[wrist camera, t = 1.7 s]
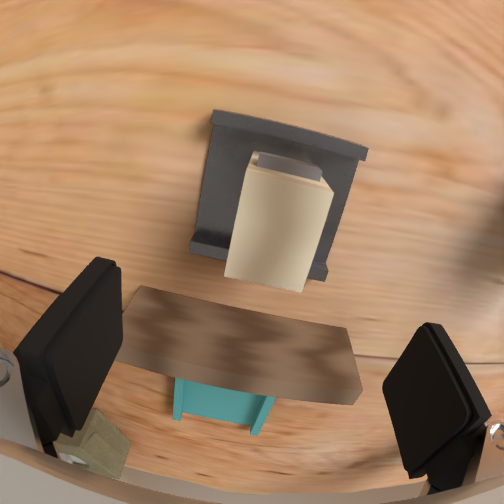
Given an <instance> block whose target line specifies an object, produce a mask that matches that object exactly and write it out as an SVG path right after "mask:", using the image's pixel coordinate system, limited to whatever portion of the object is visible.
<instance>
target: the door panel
mask: <svg viewBox="0 0 504 504" xmlns="http://www.w3.org/2000/svg"><path fill="white" fill-rule="evenodd" d="M122 321H123V342H122V345H121V348H120V350H119V352H118V354H117V356H116V358H115V360H116V361H119V362H122V363H125V364H128V365H132V366H135V367H138V368H142V369H145V370H149V371H152V372H156V373H160V374H164V375H167V376H171V377H175V378H179V379H183V380H187V381H192V382H196V383H200V384H205V385H210V386H214V387H219V388H224V389H229V390H235V391H240V392H246V393H251V394H257V395H264V396H270V397H277V398H284V399H292V400H300V401H309V402H318V403H329V404H341V405H353V404H354V403H355V401H356V400H357V399H358V397H359V396H360V394H361V393H362V391H363V388H362V384H361V380H360V377H359V373H358V369H357V365H356V361H355V358H354V354H353V350H352V347H351V343H350V340H349V336H348V333H347V329H346V328H341V327H335V326H329V325H323V324H318V323H312V322H307V321H301V320H296V319H290V318H285V317H280V316H275V315H269V314H264V313H259V312H255V311H250V310H245V309H240V308H235V307H231V306H226V305H221V304H217V303H212V302H208V301H203V300H199V299H195V298H190V297H186V296H182V295H178V294H174V293H169V292H165V291H161V290H157V289H153V288H149V287H145V286H140V287H139V289H138V291H137V292H136V294H135V295H134V297H133V298H132V300H131V302H130V303H129V305H128V306H127V308H126V309H125V311H124V313H123V314H122Z"/></svg>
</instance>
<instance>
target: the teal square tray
mask: <svg viewBox="0 0 504 504" xmlns="http://www.w3.org/2000/svg"><path fill="white" fill-rule="evenodd" d="M275 399H276V397H270V396H264V395H257V394H251V393H246V392H240V391H235V390H229V389H224V388H219V387H214V386H210V385H205V384H200V383H196V382H192V381H187V380H183V379H179V378H175V389H174V404H173V419H174V420H178V421H180V420H181V416H182V412H184V413H189V414H193V415H198V416H202V417H207V418H212V419H217V420H222V421H227V422H233V423H239V424H245V425H251V428H250V435H257V436H258V434H259V432H260V430H261V428H262V426H263V424H264V422H265V420H266V418H267V416H268V414H269V411H270V409H271V407H272V405H273V403H274V401H275Z"/></svg>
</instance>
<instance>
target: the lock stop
mask: <svg viewBox="0 0 504 504" xmlns="http://www.w3.org/2000/svg"><path fill="white" fill-rule="evenodd" d="M333 195H334V192H333V191H332V190H331V188H330V187H329V185H328V184H327V183H326V181H325V180H324V179H323V177H322V170H321V169H320V168H319V167H318V165H314V164H310V163H307V162H303V161H299V160H295V159H291V158H287V157H283V156H278V155H274V154H270V153H265V152H261V151H260V152H257V151H253V154H252V157H251V159H250V162H249V164H248V167H247V170H246V173H245V177H244V182H243V187H242V191H241V196H240V201H239V205H238V210H237V215H236V219H235V224H234V229H233V234H232V239H231V243H230V248H229V253H228V258H227V263H226V268H225V273H224V277H229V278H233V279H238V280H243V281H247V282H252V283H257V284H261V285H266V286H271V287H276V288H280V289H285V290H290V291H295V292H300V293H302V290H303V287H304V284H305V281H306V278H307V276H308V273H309V270H310V267H311V264H312V261H313V258H314V255H315V252H316V249H317V246H318V243H319V240H320V237H321V234H322V230H323V227H324V224H325V221H326V218H327V215H328V211H329V208H330V205H331V202H332V198H333Z"/></svg>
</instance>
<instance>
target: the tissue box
mask: <svg viewBox="0 0 504 504" xmlns="http://www.w3.org/2000/svg"><path fill="white" fill-rule="evenodd" d="M55 443H56V445H57V448H58V451H59V454H60V457H61V459H62V460H63V461H65V462H68V463H70V464H73V465H75V466H78V467H80V468H83V469H86V470H88V471H91V472H94V473H97V474H100V475H102V476H105V477H108V478H113V479H119V478H120V475H121V472H122V469H123V466H124V463H125V460H126V457H127V454H128V451H129V448H130V445H131V441H130V440H129V439H128V438H127V437H126V436H125V435H124V434H123V433H121V432H120V431H119V430H118V429H117V428H116V427H115V426H114V425H113V424H112V423H111V422H110V421H109V420H108V419H107V417H106V416H105V415H104V414H103V413H102V412H101V411H100V410H99V409H97V408H91V410H90V412H89V415H88V417H87V419H86V421H85V424H84V426H83V428H82V429H81V430H80V431H78V430H76V431H75V433H74V435H73V437H72V438H71V437H69V436H67V435H64V434H62V433H60V435H59V437H58V439H57V440H56V441H55Z"/></svg>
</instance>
